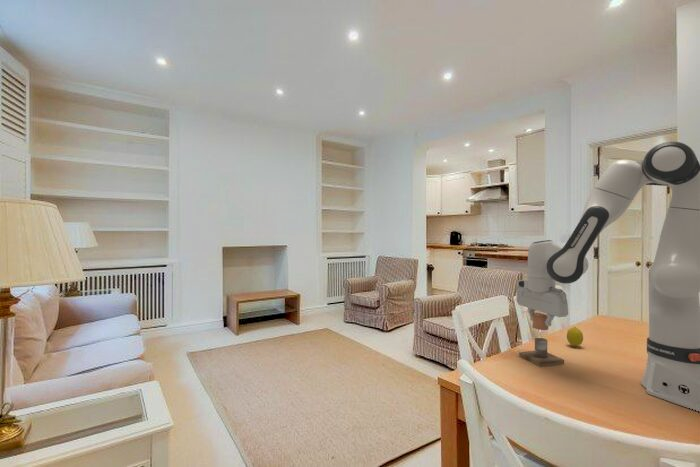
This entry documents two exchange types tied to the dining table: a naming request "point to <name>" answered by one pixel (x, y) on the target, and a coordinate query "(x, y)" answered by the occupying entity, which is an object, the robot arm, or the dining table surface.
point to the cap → (539, 321)
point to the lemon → (574, 336)
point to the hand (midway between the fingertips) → (540, 323)
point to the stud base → (541, 360)
